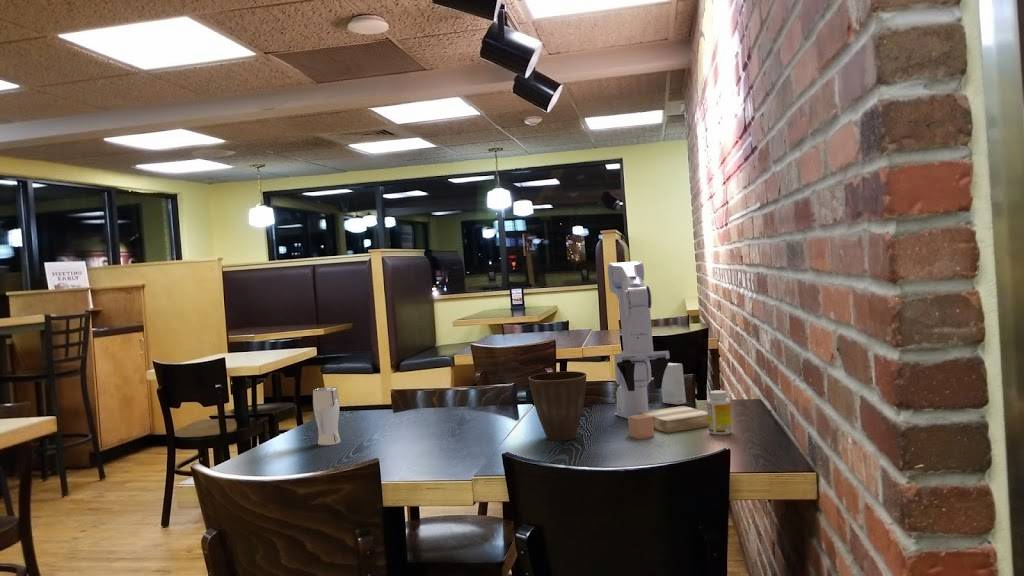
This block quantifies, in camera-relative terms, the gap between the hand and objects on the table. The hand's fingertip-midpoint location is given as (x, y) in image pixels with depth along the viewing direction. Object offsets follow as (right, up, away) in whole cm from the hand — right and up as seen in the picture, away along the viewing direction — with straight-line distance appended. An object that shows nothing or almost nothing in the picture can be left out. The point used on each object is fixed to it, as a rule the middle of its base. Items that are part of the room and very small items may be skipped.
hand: (644, 389), depth 177 cm
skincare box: (+17, -10, +42) cm, 46 cm away
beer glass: (-83, -18, +20) cm, 87 cm away
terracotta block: (-1, -12, +2) cm, 12 cm away
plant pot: (-20, -13, +6) cm, 25 cm away
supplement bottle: (+18, -11, -1) cm, 21 cm away
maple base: (+11, -11, +12) cm, 19 cm away
